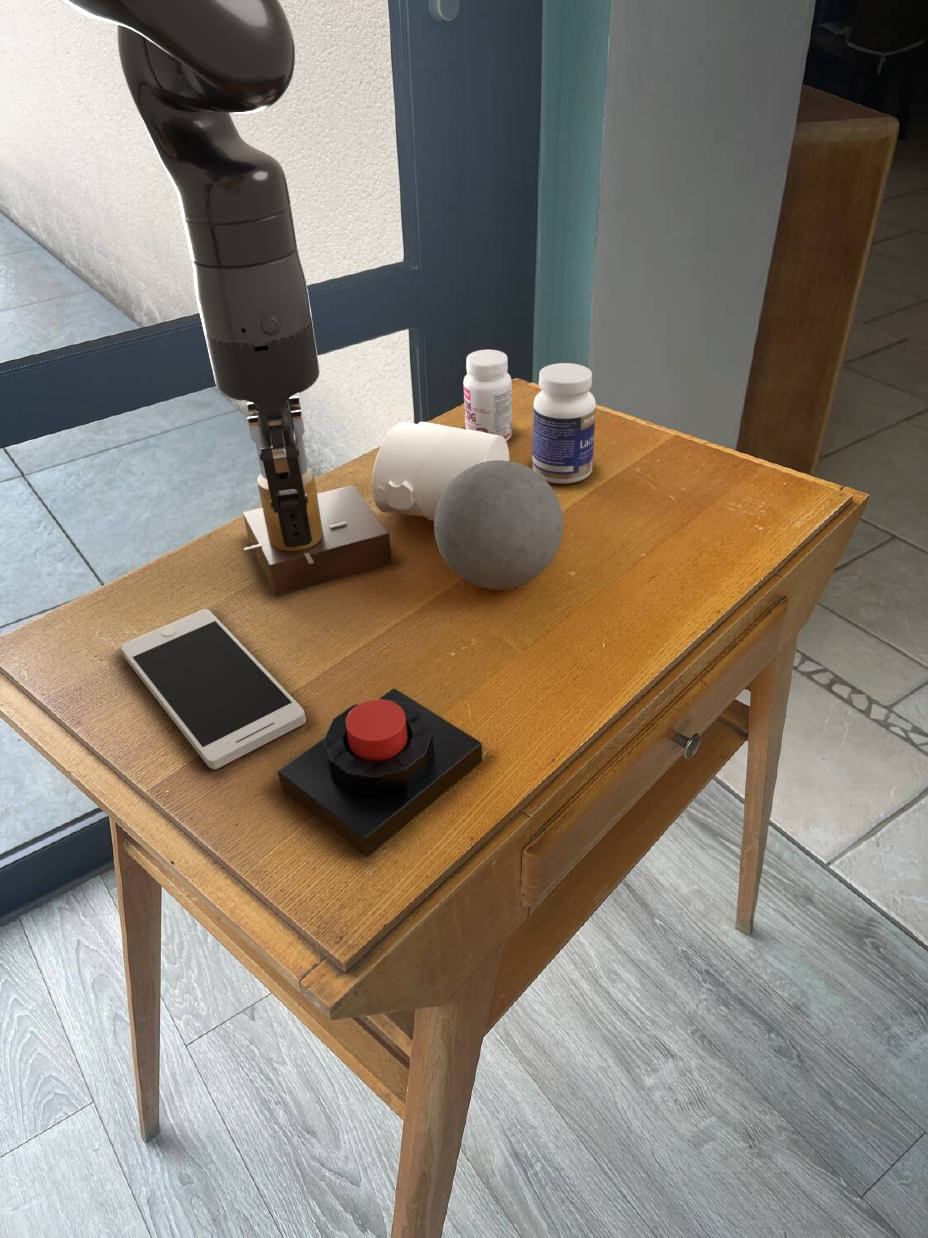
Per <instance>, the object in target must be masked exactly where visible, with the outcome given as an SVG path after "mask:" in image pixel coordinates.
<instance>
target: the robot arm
mask: <svg viewBox="0 0 928 1238" xmlns="http://www.w3.org/2000/svg"><path fill="white" fill-rule="evenodd" d="M59 1H60V2H61V3H63V4H64V5H66V6H67V7H68V8H70V9H71V10H73V11H75V12H77V13H78V14H81V15H83V16H85V17H88V18H91V19H95V20H98V21H103V22H108V23H112V24H116V25H117V34H116V35H117V48H118V55H119V61H120V64H121V70H122V73H123V76H124V80H125V82H126V85H127V88H128V90H129V93H130V96H131V97H132V100H133V102H134V104H135V107H136V109H137V111H138V113H139V116H140V118H141V120H142V123H143V124H144V126H145V129H146V131H147V133H148V135H149V137H150V140H151V142H152V145H153V147H154V148H155V151H156V153H157V156H158V158H159V160H160V162H161V164H162V166H163V167H164V169H165V172H166V173H167V175H168V177H169V179H170V180H171V183H172V185H173V187H174V189H175V191H176V193H177V197H178V201H179V207H180V211H181V218H182V222H183V226H184V231H185V235H186V240H187V245H188V248H189V254H190V258H191V262H192V263H191V264H192V269H193V281H194V291H195V296H196V302H197V307H198V312H199V315H200V319H201V323H202V329H203V334H204V338H205V342H206V347H207V351H208V357H209V360H210V364H211V369H212V373H213V374H212V375H213V377H214V383H215V386H216V388H217V389H218V391H219V392H220V393H221V394H222V395H224V396H225V397H228V398H229V399H232V400H236V401H240V402H241V401H246V402H247V403H246V408H247V413H248V417H247V423H248V429H249V435H250V438H251V440H252V441H253V442H254V443H255V448H256V453H257V458H258V459H257V460H258V463H259V468H260V474H262V476H263V477H264V478H265V479H267V482H268V487H269V491H270V496H271V501H272V502H271V508H273V509H274V513H278V517H279V522H280V527H281V532H282V537H283V542H284V545H285V546H286V547H296V546H303V545H308V544H310V543H311V541H312V537H311V531H310V525H309V519H308V514H307V503H308V496H307V492H305V490H304V484H303V478H302V476H303V474H304V473H306V471H307V467H308V462H307V457H306V456H307V455H306V451H305V450H306V449H305V441H304V436H303V435H304V434H305V425H304V417H303V411H302V406H301V405H302V404H301V400H300V399H301V398H300V396H295V395H297V394H299V393H300V394H301V393H303V392H305V391H307V390H308V389H309V388H311V387H313V385H314V384H316V382H317V380H318V379H319V376H320V370H321V369H320V364H319V362H320V361H319V356H318V351H317V343H316V337H315V336H316V335H315V331H314V323H313V317H312V311H311V304H310V297H309V291H308V284H307V280H306V275H305V271H304V268H303V265H302V261H301V259H300V254H299V249H298V243H297V240H296V239H297V237H296V231H295V224H294V219H293V212H292V205H291V199H290V197H291V196H290V191H289V186H288V182H287V178H286V175H285V174H286V173H285V171H284V169H283V167H282V165H281V164H280V162H279V161H278V160H277V159H276V158H275V157H273V156H272V155H271V154H268V153H266V152H265V151H262V150H260V149H258V148H256V147H254V146H252V145H251V144H249V143H247V141H245V140H244V139H243V137H242V136H241V135H240V133H239V131H238V129H237V127H236V125H235V123H234V121H233V118H232V116H231V114H252V113H257V112H261V111H263V110H266V109H268V108H270V107H272V106H273V105H274V104H276V103H277V102H278V101H279V100H280V99H281V98H282V97H283V96H284V94H285V93H286V91H287V90H288V88H289V87H290V85H291V82H292V79H293V75H294V70H295V61H296V52H295V50H296V49H295V48H296V47H295V41H294V36H293V32H292V27H291V25H290V22H289V20H288V16H287V15H286V12H285V10H284V8H283V6H282V5H281V2H280V1H279V0H59ZM289 489H292V490H289ZM282 490H285V491H282ZM278 491H279V492H278Z"/></svg>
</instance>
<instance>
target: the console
mask: <svg viewBox="0 0 928 1238" xmlns="http://www.w3.org/2000/svg"><path fill="white" fill-rule="evenodd" d="M317 497H318V504H319V510H320V517H321V523H322V529H323V536H322V538H321V540H320V541H319V542H318V543H317V544H315V545H313V546H312V547H309V548H307V549H303V550H299V551H283V550H279V549H276V548H275V547H273V546H272V545H271V544H270V542H269V539H268V534H267V529H266V523H265V518H264V513H263V508H262V507H258V508H254V509H250V510H247V511H242V516H243V520H244V525H245V529H246V535H247V539H248V542H249V544H250V545H249V546H246V547H243V551H244V552H249V551H253V552H254V555H255V556H256V559H257V560H258V563H259V564H260V567H261V569H262V570H263V573H264V574H265V576H266V578H267V581H268V583H269V584H270V587H271V589H272V590H273V593H274V595H275V596H281V595H285V594H288V593H291V592H295V591H299V590H301V589H306V588H309V587H312V586H317V585H320V584H323V583H327V582H331V581H335V580H337V579H341V578H345V577H348V576H352V575H356V574H359V573H362V572H366V571H369V570H373V569H377V568H380V567H384V566H387V565H391V564H393V557H392V556H393V555H392V547H391V538H390V532H389V531H388V529H387V528H386V527H385V525H384V524H383V523H382V521H381V520H380V519H379V517H378V516H377V514H376V513H375V512H374V510H373V509H372V508H371V506H370V505H369V503H367V501H366V500H365V498H364V497H363V496H362V494H361V493H360V491H359V490H358V489H357V487H356V486H355V485H354V484H351V485H348V486H347V485H346V486H342V487H338V488H335V489H331V490H326V491H323V492H317Z"/></svg>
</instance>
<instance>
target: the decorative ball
mask: <svg viewBox="0 0 928 1238" xmlns="http://www.w3.org/2000/svg"><path fill="white" fill-rule="evenodd" d="M563 518H564V517H563V512H562V507H561V504H560V501H559V499H558V497H557V495H556V493H555V491H554V489H553V487H552V486H551V485H550V484H549V482H547V481H545V479H544V478H543V477H542V476H540V475H539V474H538V473H536V472H535V471H534V470H533V468H530V467H529V466H526V465H524V464H521V463H519V462H516V461H510V460H509V461H503V460H493V461H487V462H482V463H479V464H476V465H474V466H472V467H470V468H468V469H466V470H464V471H463V472H461V473H460V474H459V475H458V476H456V477H455V478H454V479H453V480H452V481H451V482H450V484H449V485H448V486H447V487H446V489H445V490H444V492H443V494H442V496H441V498H440V500H439V502H438V505H437V509H436V513H435V520H434V521H433V527H434V528H433V531H434V536H435V542H436V545H437V548H438V550H439V553H440V555H441V557H442V559H443V560H444V561H445V563H446V564H447V566H448V567H449V568H450V569H451V570H452V571H453V572H454V574H456V575H457V576H458V577H459V578H461V579H462V580H464V581H465V582H467V583H469V584H471V585H474V586H475V587H478V588H483V589H487V590H494V591H495V590H497V591H501V590H509V589H514V588H518V587H521V586H524V585H526V584H528V583H530V582H531V581H533V580H535V579H536V578H538V577H539V576H540V575H542V573H543V572H544V571H545V570H547V569H548V567H549V566H550V565H551V563H552V562H553V560H554V559H555V557H556V556H557V553H558V552H559V549H560V545H561V542H562V539H563V532H564V519H563Z"/></svg>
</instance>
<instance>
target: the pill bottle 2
mask: <svg viewBox="0 0 928 1238" xmlns="http://www.w3.org/2000/svg"><path fill="white" fill-rule="evenodd" d="M538 375H539V376H538V387H539V389H540V391H539V392H537V394H536V395H535V397H534V399H533V405H532V406H533V407H532V456H531V457H532V458H531V461H532V462H531V463H532V464H531V465H532V470H534V471H535V472H536V473H538V474H539V475H540V476H542V477H543V478H544V479H545V481H546V482H547V483H550V484H557V485H570V484H576V483H578V482H582V481H583V480H586V479H587V478H588V477H589V476H590V475H591V473H592V472H593V464H594V463H593V461H594V444H595V426H596V413H597V412H596V410H597V404H596V399H595V396H594V395H593V393H592V392H590V391H589V390H591V387H592V385H593V384H592V382H593V373H592V370H591V369H590V368H588V367H586V366H584V365H582V364H578V363H577V364H576V363H572V362H571V363H570V362H567V363H566V362H559V363H552V364H549V365H546V366H544V367H543V368H541V369H540V370H539V374H538Z"/></svg>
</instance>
